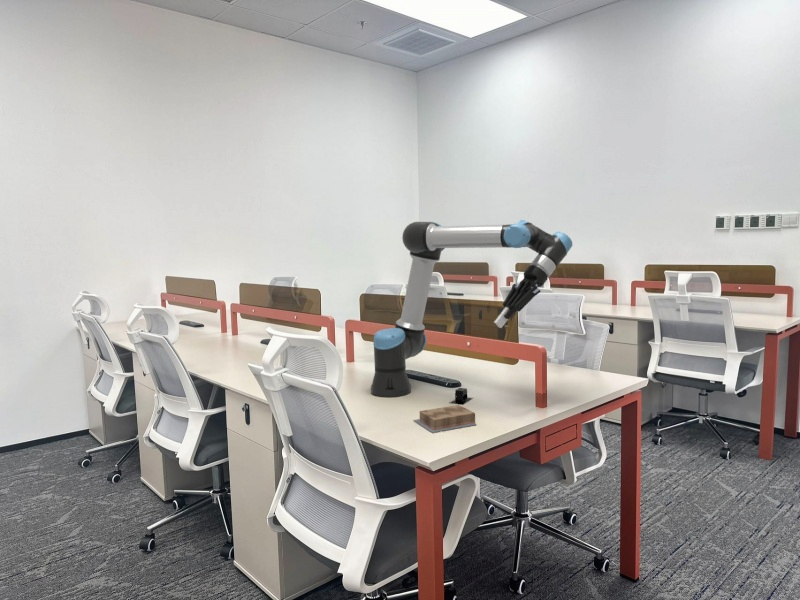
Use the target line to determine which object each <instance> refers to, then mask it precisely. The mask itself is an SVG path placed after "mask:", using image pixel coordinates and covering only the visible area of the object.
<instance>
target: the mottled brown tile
mask: <svg viewBox="0 0 800 600" xmlns="http://www.w3.org/2000/svg"><path fill="white" fill-rule="evenodd" d="M419 419H420V421H421V422H423V423H424V424H426V425H427V426H429V427H431V428H432V429H434V430H437V429H443V428H448V427H454V426H459V425H465V424H470V423H475V424H476V413H475V412H474V411H472V410H469V409H468V408H466V407H464V406H463V405H462V406H461V405H459V404H454V405H449V406H444V407H436V408H432V409H425V410H420V411H419Z"/></svg>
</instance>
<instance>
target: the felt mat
mask: <svg viewBox="0 0 800 600" xmlns="http://www.w3.org/2000/svg"><path fill="white" fill-rule="evenodd" d="M412 421H413V422H414V423H416V424H417V425H419V426H420V427H422V428H424V429H426V431H428V430H429V431H428V432H430V433H431V432H432V433H431V434H434V433H433V432H436V433H441V432H440V431H442V432H447V431H452V429H453V430H458V429H462V428H463V427H464V428H468V427H469V428H470V427H473V426H474V425H475V426H477V424H476V422H475V423H470V424H465V425H459V426H454V427H448V428H443V429H437V430H434V429H432V428H431V427H429V426H427V425H426V424H424V423H423V422H421V421H420V418H417V419H413V420H412ZM457 428H458V429H457ZM464 428H463V429H464ZM446 430H447V431H446Z"/></svg>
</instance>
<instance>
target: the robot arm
mask: <svg viewBox="0 0 800 600" xmlns="http://www.w3.org/2000/svg"><path fill="white" fill-rule="evenodd" d="M401 239H402V243H403V245H404V247H405V248H406V250H408V251H409V256H410V258H411V260H412V261H411V265H410V270H409V275H408V281H407V285H406V290H405V295H404V300H403V301H404V302H403V305H402V312H401V316H400V318H399V319H398V320H396V321H395V325H394V326H395V327H389V328H383V329H380V330H378V331H376V332H375V333H374V335H373V344H372V345H373V354H374V355H373V357H374V376H373V378H372V379H373V380H372V383H371V386H370V393H371V394H372V395H373V396H377V397H382V398H383V397H384V398H394V397H395V398H396V397H401V396H406V395H408V394H411V392H412V385H411V382H410V380H409V376H408V373H407V371H406V370H407V369H406V367H407V365H406V360H407V359H410V358H413V357H416V356H417V355H419V354H421V353H422V352H423V350H424V349H425V348H426V344H427V335H426V334H425V330H426V329H425V328H426V327H425V325H424V324H423V320H424V315H425V311H426V305H427V301H428V297H429V291H430V288H431V287H430V286H431V284H432V282H431V281H432V277H433V273H434V268H435V264H436V263H438V262H439V261H440V259H441V254H442V251H443V250H445V249H464V248H465V249H466V248H467V249H469V248H470V249H471V248H472V249H473V248H474V249H475V248H478V249H479V248H481V249H482V248H485V249H487V248H488V249H489V248H491V249H492V248H511V249H512V248H514V249H521V248H529V249H530V250H532V251H533V252H535V253H537V255H536V256H535V257H534V259H533V260H532V262H531V263H530V265H528V267H527V268H526V269H525V271H524V272H523V278H522V280H520V281H519V283H518V284H516V283H513V284H512V286H511V289H510V291H509V292H508V294H507V296H506V298H505V300H504V301H503V302H502V306H503V307H504V308H503V310H501V313H499V315H498V316H497V317H496V319H494V321H493V323H494V324H495V325H496V326H497V327H498V328H500V329H502V328H503V326H505V324H506V323H507V321H509V319H510V318H511V317H512V316H513V314H514V313H516V312H518V313H519V312H521V311H522V310H523V309H524V308H525V307H526V306H527V304H528V303H530V302H531V301H532V300H533V299H534V297H536V296H538V294H539V293H541V289H540V288H541V287H543V286H544V284H545V283H546V282H547V280H548V278H549V277H551V275H552V274H553V272H554V271H555V269H557V267H558V266H559V265H560V263H561V262H562V261H563V260H564V259H565V258H566V256H568V255H567V254H568V253H569V252H570V250H571V249H572V248H573V241H572V238H571V237H570V236H569V235H568V234H566V233H565V232H561V231H556V232H554V233H553V234H551V233H549V232H547V231H544V230H543V229H541V228H540V227H539V226H536V225H535V224H533V223H531V222H529V221H527V220H525V219H520V220H519V221H518V222H517V223H514V224H482V225H481V224H479V225H478V224H477V225H475V224H474V225H441V224H439V223H437V222H433V221H414V222H411V223H408V224H407V226H406V227H405V228H404V230H403V232H402V237H401Z"/></svg>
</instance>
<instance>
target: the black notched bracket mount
mask: <svg viewBox="0 0 800 600" xmlns="http://www.w3.org/2000/svg"><path fill="white" fill-rule="evenodd" d="M454 391H455V393H454V399H453V400H451V401H449V402H448V404H453V405H460V406H461V405H462V406H464V405H465V404H467V403H468V402H470V401H471V400H473V399H474V397H468V388H466V387H458V388H457V389H455V390H454Z"/></svg>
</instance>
